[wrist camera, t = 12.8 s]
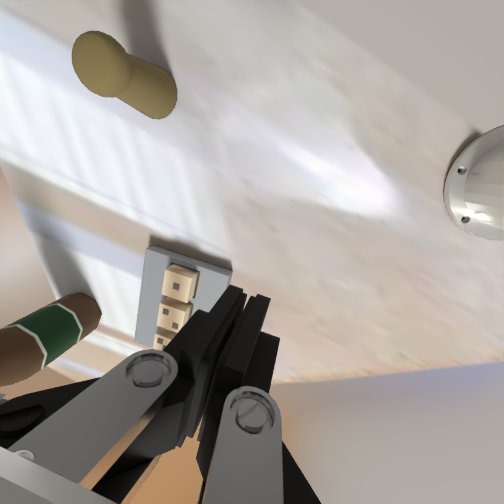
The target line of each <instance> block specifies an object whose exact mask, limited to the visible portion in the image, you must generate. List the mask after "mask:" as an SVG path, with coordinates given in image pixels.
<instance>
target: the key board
mask: <svg viewBox="0 0 504 504" xmlns="http://www.w3.org/2000/svg"><path fill="white" fill-rule="evenodd" d="M174 263H176V264H179V265H182V266H185V267H188V268H191V269H194V270H197V271H200V276H199V281H198V286H197V291H196V294H195V295H194V296H193V297H192V298H191V299H190V301H189V302H190V303H193V304H194V305H193V310H192V315H193V314H194V313H195V312H196V311H197V310H198V309H200V310H203V311H206V312H209V311H210V310H211V309H212V307H213V306H214V305H215V303H216V302H217V301H218V299H219V298H220V297H221V295H222V294H223V293H224V291H225V290H226V289H227V287H228V286H229V284H230V280H231V276H232V272H233V271H230V270H227V269H224V268H221V267H218V266H215V265H212V264H209V263H206V262H203V261H200V260H197V259H194V258H191V257H188V256H185V255H182V254H179V253H175V252H172V251H169V250H166V249H163V248H160V247H157V246H154V245H153V246H151V247H149V248H147V249H146V252H145V260H144V268H143V276H142V283H141V291H140V299H139V307H138V315H137V323H136V331H135V339H134V341H135V342H138V343H141V344H143V345H146V346H149V347H151V348H153V345H154V338H155V333H156V332H157V331H158V330H159V329H160V328H161V327H159V326H157V319H158V313H159V307H160V303H161V302H162V301H163V300H164V299H165V298H166V297H167V296H165V295H162V287H163V281H164V275H165V269H167V268H168V267H170V266H171V265H173V264H174ZM192 315H191V316H192Z"/></svg>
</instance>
